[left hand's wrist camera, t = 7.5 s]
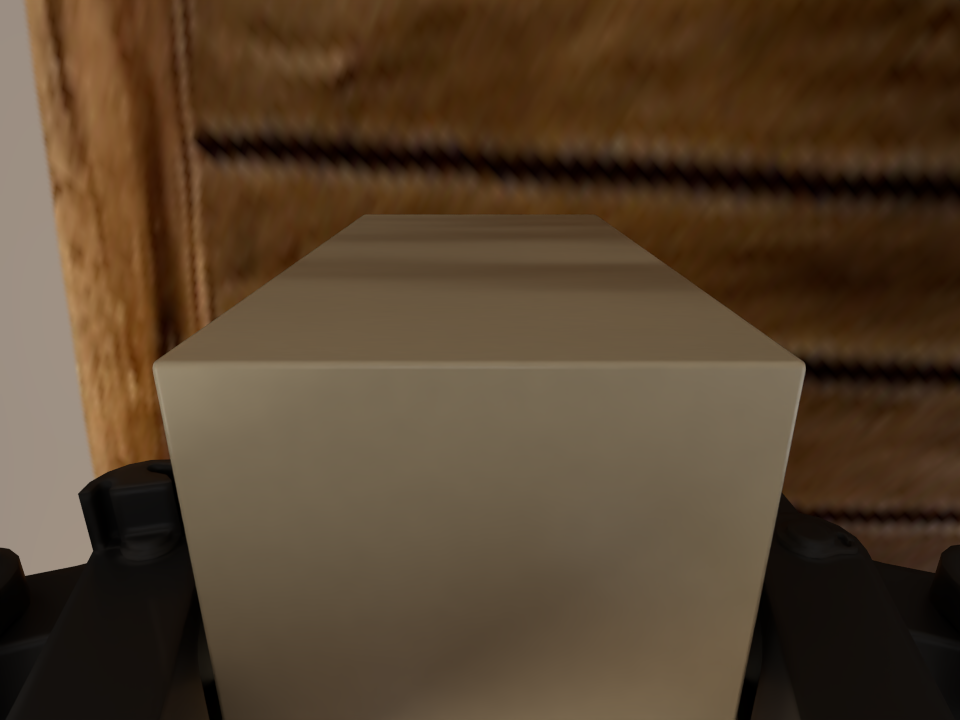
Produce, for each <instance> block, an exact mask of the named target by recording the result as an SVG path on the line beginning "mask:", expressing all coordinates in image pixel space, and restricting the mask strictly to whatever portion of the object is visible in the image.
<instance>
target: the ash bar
mask: <svg viewBox="0 0 960 720" xmlns="http://www.w3.org/2000/svg"><path fill="white" fill-rule="evenodd" d="M805 371H806V367H805V363H804V362H803V361H802V360H800V359H799V358H797V357H796V356H795V355H793V354H792V353H790V352H789V351H788V350H786V349H785V348H783V347H782V346H780V345H779V344H778V343H776V342H775V341H773V340H772V339H771V338H769V337H768V336H766V335H765V334H764V333H762V332H761V331H759V330H758V329H756V328H755V327H754V326H752V325H751V324H749V323H748V322H747V321H745V320H744V319H742V318H741V317H739V316H738V315H737V314H735V313H734V312H732V311H731V310H730V309H728V308H727V307H725V306H724V305H722V304H721V303H720V302H718V301H717V300H715V299H714V298H713V297H711V296H710V295H708V294H707V293H705V292H704V291H703V290H701V289H700V288H698V287H697V286H696V285H694V284H693V283H691V282H690V281H689V280H687V279H686V278H684V277H683V276H681V275H680V274H679V273H677V272H676V271H674V270H673V269H672V268H670V267H669V266H667V265H666V264H664V263H663V262H662V261H660V260H659V259H657V258H656V257H655V256H653V255H652V254H650V253H649V252H647V251H646V250H645V249H643V248H642V247H640V246H639V245H638V244H636V243H635V242H633V241H632V240H630V239H629V238H628V237H626V236H625V235H623V234H622V233H621V232H619V231H618V230H616V229H615V228H614V227H612V226H611V225H609V224H608V223H606V222H605V221H604V220H602V219H601V218H599V217H598V216H596V215H363V216H362V217H360V218H359V219H358V220H356V221H355V222H353V223H352V224H350V225H349V226H348V227H346V228H345V229H343V230H342V231H341V232H339V233H338V234H336V235H335V236H333V237H332V238H331V239H329V240H328V241H326V242H325V243H323V244H322V245H321V246H319V247H318V248H316V249H315V250H313V251H312V252H311V253H309V254H308V255H306V256H305V257H303V258H302V259H301V260H299V261H298V262H296V263H295V264H293V265H292V266H291V267H289V268H288V269H286V270H285V271H284V272H282V273H281V274H279V275H278V276H276V277H275V278H274V279H272V280H271V281H269V282H268V283H266V284H265V285H264V286H262V287H261V288H259V289H258V290H256V291H255V292H254V293H252V294H251V295H249V296H248V297H246V298H245V299H244V300H242V301H241V302H239V303H238V304H236V305H235V306H234V307H232V308H231V309H229V310H228V311H227V312H225V313H224V314H222V315H221V316H219V317H218V318H217V319H215V320H214V321H212V322H211V323H209V324H208V325H207V326H205V327H204V328H202V329H201V330H199V331H198V332H197V333H195V334H194V335H192V336H191V337H189V338H188V339H187V340H185V341H184V342H182V343H181V344H179V345H178V346H177V347H175V348H174V349H172V350H171V351H170V352H168V353H167V354H165V355H164V356H162V357H161V358H160V359H158V360H157V361H155V362H154V364H153V373H154V378H155V383H156V388H157V393H158V398H159V403H160V408H161V413H162V418H163V423H164V428H165V433H166V438H167V444H168V449H169V454H170V459H171V464H172V469H173V474H174V479H175V484H176V489H177V494H178V499H179V504H180V509H181V514H182V519H183V524H184V529H185V534H186V539H187V544H188V549H189V554H190V559H191V564H192V569H193V574H194V579H195V584H196V589H197V594H198V599H199V604H200V609H201V614H202V619H203V624H204V629H205V634H206V639H207V644H208V649H209V654H210V659H211V664H212V669H213V674H214V679H215V684H216V689H217V694H218V699H219V704H220V709H221V714H222V719H223V720H736V718H737V713H738V708H739V703H740V698H741V693H742V688H743V683H744V678H745V673H746V668H747V663H748V658H749V653H750V648H751V643H752V638H753V633H754V628H755V623H756V618H757V613H758V608H759V603H760V597H761V592H762V587H763V582H764V577H765V572H766V567H767V562H768V557H769V552H770V547H771V542H772V537H773V532H774V527H775V522H776V517H777V512H778V507H779V502H780V497H781V492H782V487H783V482H784V477H785V472H786V467H787V462H788V456H789V451H790V446H791V441H792V436H793V431H794V426H795V421H796V416H797V411H798V406H799V401H800V396H801V391H802V386H803V381H804V376H805Z"/></svg>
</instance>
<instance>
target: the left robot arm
mask: <svg viewBox="0 0 960 720" xmlns="http://www.w3.org/2000/svg"><path fill="white" fill-rule="evenodd" d="M78 495H79V499H80V503H81V506H82V510H83V514H84V518H85V522H86V525H87V529H88V533H89V537H90V540H91V544H92V548H93V552H92V554H91V556H90V558H89V560H88V562H87V563H86V564H82V565H78V566H74V567H69V568H64V569H59V570H53V571H48V572H43V573H38V574H33V575H28V576H25V574H24V571H23V568H22V565H21V562H20V559H19V556H18V555H17V554H15V553H14V552H13V551H11V550H10V549H6V548H0V720H223V719H222V714H221V709H220V704H219V699H218V694H217V689H216V684H215V679H214V674H213V669H212V664H211V659H210V654H209V649H208V644H207V639H206V634H205V629H204V624H203V619H202V614H201V609H200V604H199V599H198V594H197V589H196V584H195V579H194V574H193V569H192V564H191V559H190V554H189V549H188V544H187V539H186V534H185V529H184V524H183V519H182V514H181V509H180V504H179V499H178V494H177V489H176V484H175V479H174V474H173V469H172V464H171V460H149V461H144V462H139V463H134V464H129V465H126V466H123V467H121V468H118V469H115V470H112V471H109V472H107V473H105V474H103V475H102V476H100V477H98V478H96V479H95V480H93V481H91V482H90V483H89V484H87V486H86V487H84V488H83V489H82V490H81V491H80V492H79V493H78ZM736 720H960V545H954V546H950V547H949V548H948V549H946V550H945V551H944V552H943V553H942V554H941V557H940V560H939V563H938V566H937V570H936V573H931V572H926V571H921V570H916V569H911V568H906V567H901V566H896V565H890V564H885V563H881V562H877V561H873V560H872V559H871V557H870V555H869V553H868V551H867V550H866V549H865V547H864V546H863V545H862V544H861V543H860V541H859V540H858V539H857V538H856V537H855V536H853V535H852V534H850V533H849V532H847V531H846V530H844V529H843V528H841V527H840V526H838V525H836V524H833V523H831V522H828V521H826V520H824V519H821V518H819V517H815V516H810V515H806V514H802V513H799V512H798V511H797V510H796V509H795V508H794V507H793V505H792V504H791V503H790V502H789V501H788V499H787V498H786V497H785V496H784V495H783V493H782V492H781V497H780V502H779V507H778V512H777V517H776V522H775V527H774V532H773V537H772V542H771V547H770V552H769V557H768V562H767V567H766V572H765V577H764V582H763V587H762V592H761V597H760V603H759V608H758V613H757V618H756V623H755V628H754V633H753V638H752V643H751V648H750V653H749V658H748V663H747V668H746V673H745V678H744V683H743V688H742V693H741V698H740V703H739V708H738V713H737V718H736Z"/></svg>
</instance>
